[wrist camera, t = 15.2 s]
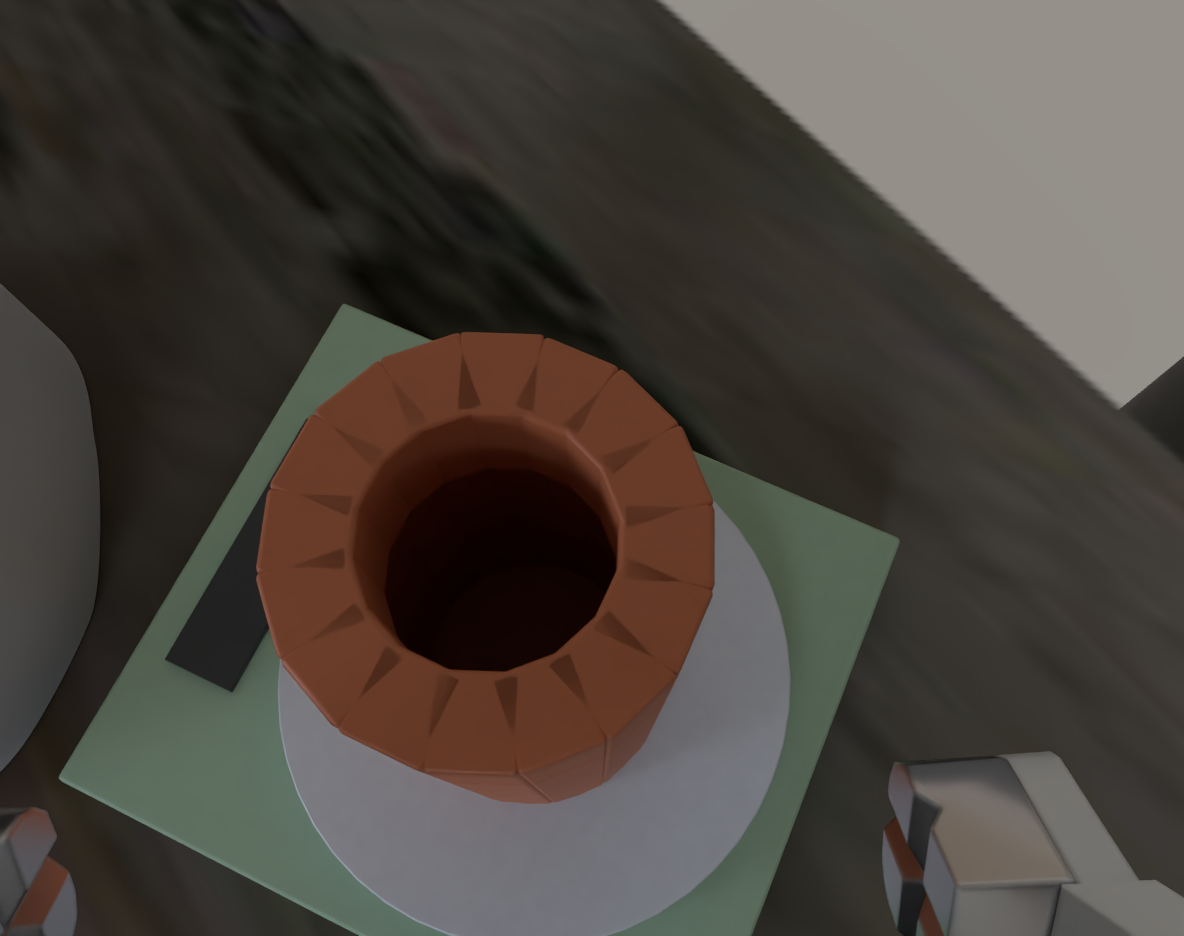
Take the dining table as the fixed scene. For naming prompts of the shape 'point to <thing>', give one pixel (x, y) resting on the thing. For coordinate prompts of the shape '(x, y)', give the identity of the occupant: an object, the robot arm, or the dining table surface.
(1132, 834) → the dining table surface
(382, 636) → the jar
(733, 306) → the dining table surface
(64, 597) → the lumpy-topped squat cylinder
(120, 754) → the scale
